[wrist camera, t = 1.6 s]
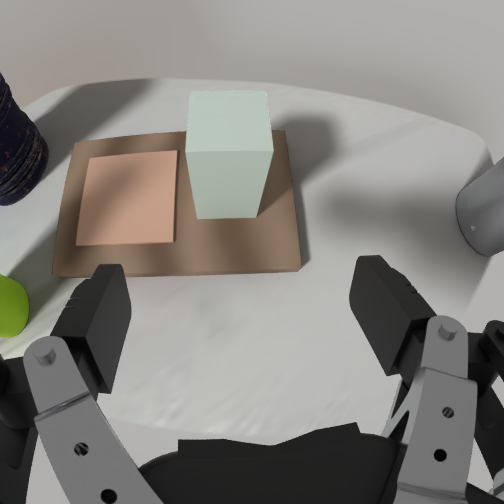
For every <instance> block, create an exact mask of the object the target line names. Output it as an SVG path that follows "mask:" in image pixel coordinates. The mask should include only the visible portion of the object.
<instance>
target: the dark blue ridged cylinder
mask: <svg viewBox="0 0 504 504" xmlns="http://www.w3.org/2000/svg"><path fill="white" fill-rule="evenodd" d="M48 154H49V151H48V146H47V143H46V142H45V140H44V139H43V138H42V137H41V135H40V133H39V131H38V129H37V127H36V126H35V124H34V123H33V122H32V121H31V120H30V119H29V117H28V116H27V114H26V113H25V112H23V111H21V110H20V108H19V107H18V105H17V104H16V102H15V101H14V99H13V98H12V93H11V91H10V87H9V85H8V84H7V83H5V79H4V78H3V76H2V74H1V73H0V205H1V206H8V205H12V204H14V203H16V202H18V201H20V200H21V199H23V198H24V197H25V196H26V195H27V194H28V193H29V192H30V191H31V190H32V189H33V188H34V187H35V186H36V184H37V183H38V181H39V180H40V178H41V176H42V175H43V173H44V170H45V168H46V165H47V161H48Z"/></svg>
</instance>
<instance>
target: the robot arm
mask: <svg viewBox="0 0 504 504" xmlns="http://www.w3.org/2000/svg"><path fill="white" fill-rule="evenodd" d="M456 212H457V218H458V222H459V225H460V228H461V230H462V232H463V234H464V236H465V238H466V239H467V241H468V242H469V244H470V245H471V246H472V247H473V248H474V249H475V250H476V251H477V252H479V253H481V254H482V255H486V256H492V255H495V254H497V253H499V252H501V251H503V250H504V158H502V159H501V160H500V161H499V162H497V163H496V164H495V165H494V166H492V167H491V168H490V169H489V170H487V171H486V172H485V173H483V174H482V175H481V176H480V177H478V178H477V179H476V180H474V181H473V182H472V183H470V184H469V185H468V186H467V187H465V188H464V189H463V190H461V192H460V193H459V195H458V197H457V202H456ZM349 302H350V307H351V310H352V312H353V313H354V315H355V317H356V319H357V321H358V323H359V324H360V326H361V328H362V330H363V332H364V334H365V336H366V338H367V339H368V341H369V343H370V345H371V347H372V349H373V351H374V353H375V355H376V357H377V358H378V360H379V362H380V364H381V366H382V368H383V370H384V372H385V374H386V376H390V375H395V374H399V373H400V375H401V377H402V378H401V380H400V382H399V384H398V387H397V391H396V394H395V397H394V401H393V404H392V407H391V410H390V413H389V416H388V419H387V422H386V425H385V428H384V430H383V432H382V434H381V436H379V435H375V434H367V433H360V430H359V428H358V425H357V422H354V423H350V424H345V425H340V426H335V427H329V428H323V429H318V430H314V431H312V432H309V433H307V434H304V435H302V436H299V437H296V438H294V439H291V440H288V441H286V442H283V443H280V444H277V445H271V446H268V445H259V444H252V443H245V442H238V441H232V440H226V439H209V440H208V439H207V440H178V451H176V452H171V453H168V454H165V455H162V456H159V457H157V458H155V459H152V460H150V461H149V462H147V463H146V464H144V465H142V466H141V467H139V468H138V466H137V465H136V464H135V462H134V461H133V459H132V458H131V456H130V455H129V454H128V452H127V451H126V449H125V448H124V446H123V445H122V443H121V442H120V440H119V439H118V437H117V436H116V434H115V433H114V431H113V429H112V428H111V426H110V424H109V423H108V421H107V419H106V418H105V416H104V414H103V413H102V411H101V409H100V407H99V406H98V404H97V402H96V401H97V397H98V393H106V394H111V392H112V388H113V383H114V379H115V375H116V371H117V367H118V363H119V359H120V356H121V352H122V348H123V344H124V341H125V337H126V334H127V330H128V327H129V323H130V320H131V301H130V297H129V293H128V288H127V284H126V279H125V275H124V270H123V267H122V265H121V264H99V265H98V267H97V268H96V270H95V272H94V274H93V275H92V277H91V279H85V280H84V281H83V282H82V283H81V284H79V285H78V286H77V287H76V288H75V290H74V291H73V293H72V295H71V297H70V300H68V302H67V304H66V306H65V308H64V309H63V311H62V313H61V315H60V317H59V319H58V321H57V322H56V324H55V326H54V328H53V330H52V332H51V334H50V336H46V337H43V338H40V339H38V340H36V341H34V342H33V343H32V344H31V345H30V346H29V347H28V348H27V349H26V351H25V353H24V356H23V357H18V358H12V359H6V360H4V359H3V358H2V356H1V354H0V504H26V496H27V489H28V483H29V477H30V471H31V466H32V461H33V456H34V451H35V446H36V442H37V438H38V433H39V435H40V438H41V441H42V443H43V446H44V448H45V451H46V453H47V456H48V458H49V460H50V463H51V465H52V467H53V470H54V472H55V474H56V476H57V478H58V480H59V482H60V484H61V486H62V488H63V490H64V492H65V494H66V496H67V498H68V500H69V502H70V504H504V408H503V406H502V404H501V402H500V401H499V399H498V397H497V396H496V394H495V392H494V390H493V389H492V387H491V385H492V384H493V383H494V381H495V380H496V378H497V377H498V375H500V377H501V378H502V380H503V382H504V322H501V321H498V320H493V321H490V322H488V323H487V325H486V327H485V329H484V331H483V333H470V332H467V331H466V329H465V328H464V326H463V325H462V324H461V323H460V322H458V321H457V320H455V319H453V318H451V317H448V316H442V315H439V316H437V315H436V313H435V312H434V311H433V310H432V308H431V307H430V306H429V305H428V303H427V302H426V301H425V300H424V298H423V297H422V296H421V295H420V294H419V293H417V290H416V289H415V288H414V286H412V285H411V283H410V282H409V281H408V279H407V278H406V277H405V276H404V275H403V274H401V273H400V272H398V271H397V270H395V269H394V268H391V267H390V266H389V265H388V263H387V262H386V261H385V260H384V259H383V258H382V257H381V256H380V255H369V256H359V257H358V259H357V261H356V266H355V271H354V275H353V280H352V284H351V289H350V294H349ZM474 438H475V440H476V442H477V444H478V446H479V449H480V451H481V453H482V455H483V458H484V460H485V462H486V465H487V467H488V469H489V472H490V474H491V477H492V479H493V488H492V489H490V490H489V492H488V493H487V492H485V491H483V490H481V489H479V488H478V487H476V486H474V485H472V484H470V483H468V482H467V478H468V473H469V467H470V461H471V455H472V447H473V439H474Z"/></svg>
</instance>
